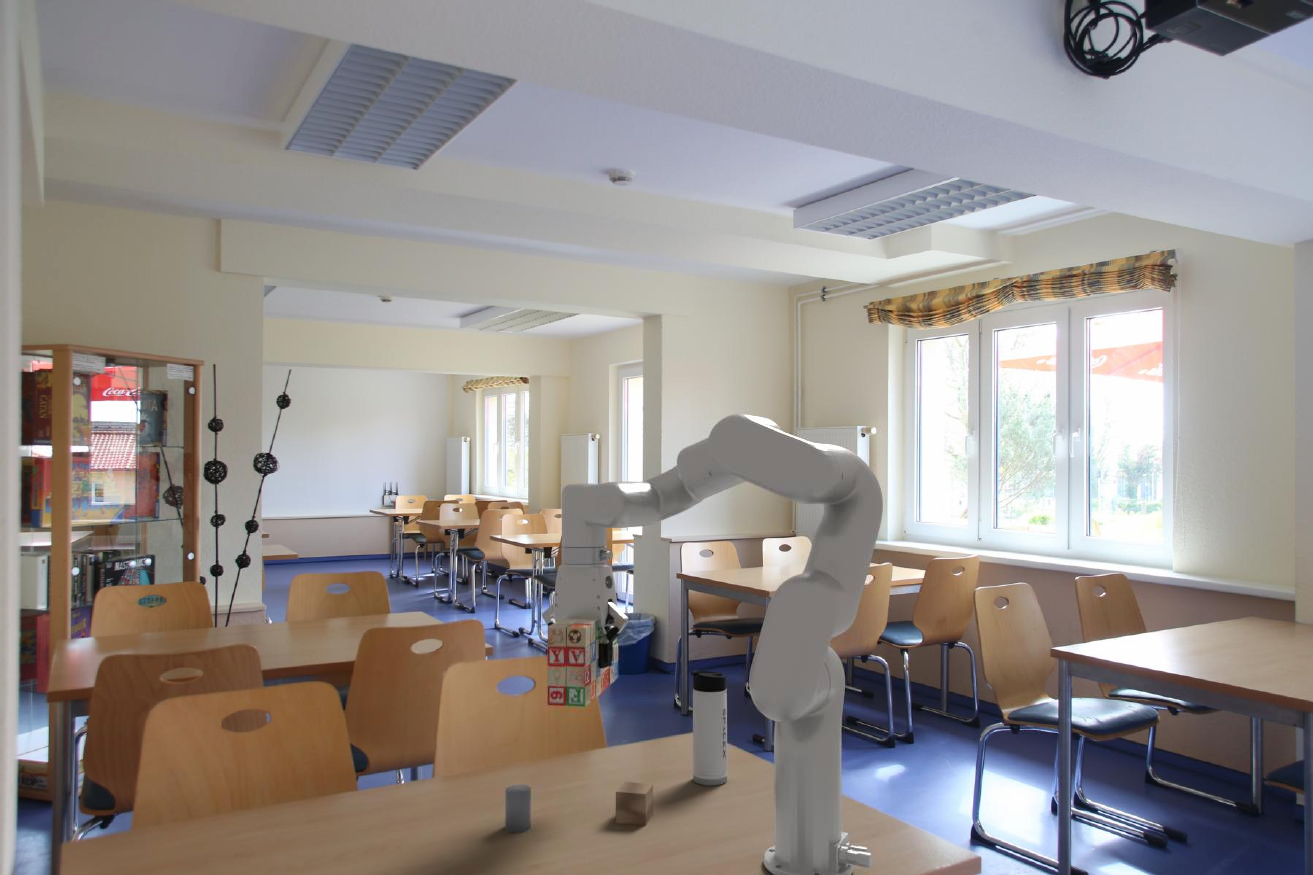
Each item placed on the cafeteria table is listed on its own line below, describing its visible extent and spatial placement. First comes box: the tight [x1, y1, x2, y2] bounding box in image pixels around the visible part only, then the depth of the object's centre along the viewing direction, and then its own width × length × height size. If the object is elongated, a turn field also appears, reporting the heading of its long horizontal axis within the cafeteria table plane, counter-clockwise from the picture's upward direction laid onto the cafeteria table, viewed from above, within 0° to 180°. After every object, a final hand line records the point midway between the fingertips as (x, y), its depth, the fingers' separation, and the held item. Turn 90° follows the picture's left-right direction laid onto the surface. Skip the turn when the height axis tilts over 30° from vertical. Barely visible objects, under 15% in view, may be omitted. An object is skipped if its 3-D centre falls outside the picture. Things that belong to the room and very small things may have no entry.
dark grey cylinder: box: [504, 784, 532, 834], centre depth 142 cm, size 4×4×6 cm
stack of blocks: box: [546, 618, 619, 708], centre depth 149 cm, size 21×6×12 cm, turn 169°
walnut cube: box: [615, 781, 654, 826], centre depth 146 cm, size 5×5×5 cm
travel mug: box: [690, 670, 728, 787], centre depth 165 cm, size 6×7×20 cm
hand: (584, 664), depth 148 cm, fingers closed on stack of blocks, 7 cm apart
